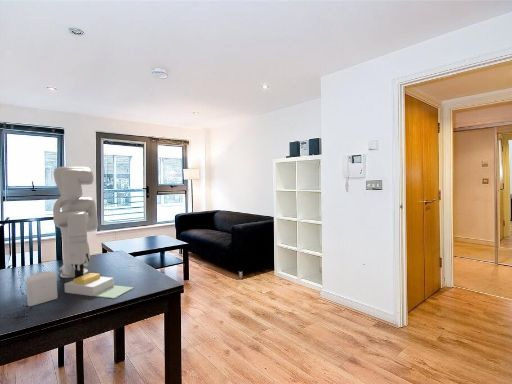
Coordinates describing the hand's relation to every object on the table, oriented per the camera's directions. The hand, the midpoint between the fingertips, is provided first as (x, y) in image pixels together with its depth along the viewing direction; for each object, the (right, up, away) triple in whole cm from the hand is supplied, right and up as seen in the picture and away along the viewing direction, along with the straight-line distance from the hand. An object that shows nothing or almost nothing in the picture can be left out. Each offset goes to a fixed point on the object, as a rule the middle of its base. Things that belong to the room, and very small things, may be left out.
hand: (79, 277), depth 134 cm
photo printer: (-6, -6, -14) cm, 17 cm away
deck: (+6, -5, -1) cm, 8 cm away
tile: (+4, -1, -1) cm, 5 cm away
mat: (+19, -5, -5) cm, 20 cm away
